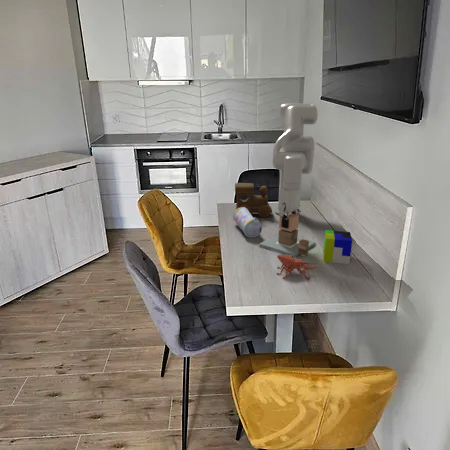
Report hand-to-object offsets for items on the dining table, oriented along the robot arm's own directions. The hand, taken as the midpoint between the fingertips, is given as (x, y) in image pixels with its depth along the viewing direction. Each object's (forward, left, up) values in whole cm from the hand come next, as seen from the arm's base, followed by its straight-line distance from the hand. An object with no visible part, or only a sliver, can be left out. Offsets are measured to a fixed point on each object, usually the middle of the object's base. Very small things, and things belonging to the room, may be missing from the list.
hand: (288, 225), depth 174 cm
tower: (+4, +10, -9) cm, 14 cm away
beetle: (+21, +17, -10) cm, 29 cm away
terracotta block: (0, 0, -1) cm, 1 cm away
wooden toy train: (-25, -37, -10) cm, 46 cm away
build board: (0, 0, -9) cm, 9 cm away
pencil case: (-3, -25, -10) cm, 27 cm away
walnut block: (0, 0, -8) cm, 8 cm away
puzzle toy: (-2, +22, -10) cm, 24 cm away
